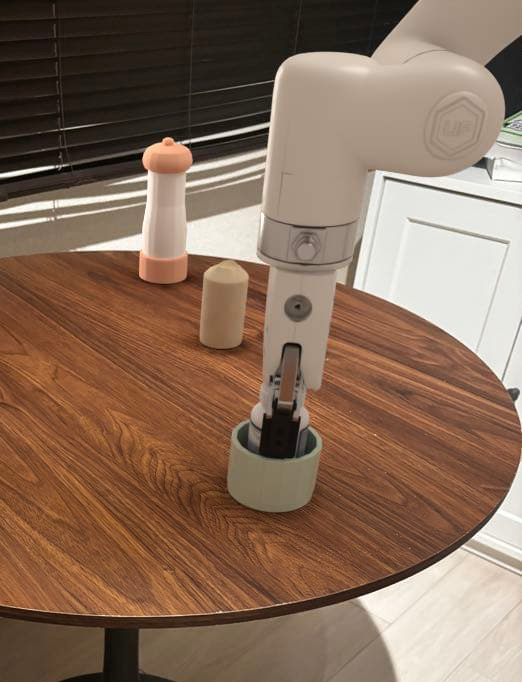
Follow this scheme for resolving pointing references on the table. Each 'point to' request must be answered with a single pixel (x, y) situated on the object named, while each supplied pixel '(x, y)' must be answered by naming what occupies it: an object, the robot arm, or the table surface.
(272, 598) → the table surface
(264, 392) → the pill bottle
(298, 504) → the cup
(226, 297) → the candle
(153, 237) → the pepper shaker
